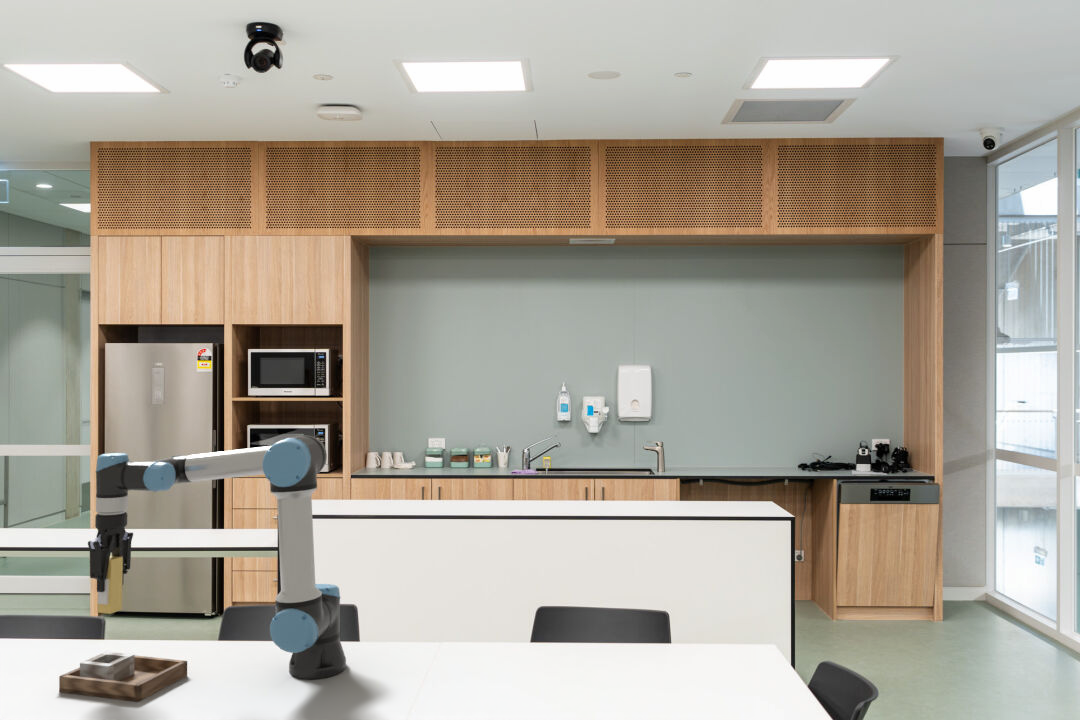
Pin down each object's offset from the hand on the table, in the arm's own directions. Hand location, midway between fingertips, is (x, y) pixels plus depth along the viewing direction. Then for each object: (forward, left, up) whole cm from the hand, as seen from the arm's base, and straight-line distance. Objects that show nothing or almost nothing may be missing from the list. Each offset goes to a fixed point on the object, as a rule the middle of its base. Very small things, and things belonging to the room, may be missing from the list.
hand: (110, 601), depth 218 cm
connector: (0, 0, -3) cm, 3 cm away
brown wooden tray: (-5, 0, -21) cm, 22 cm away
